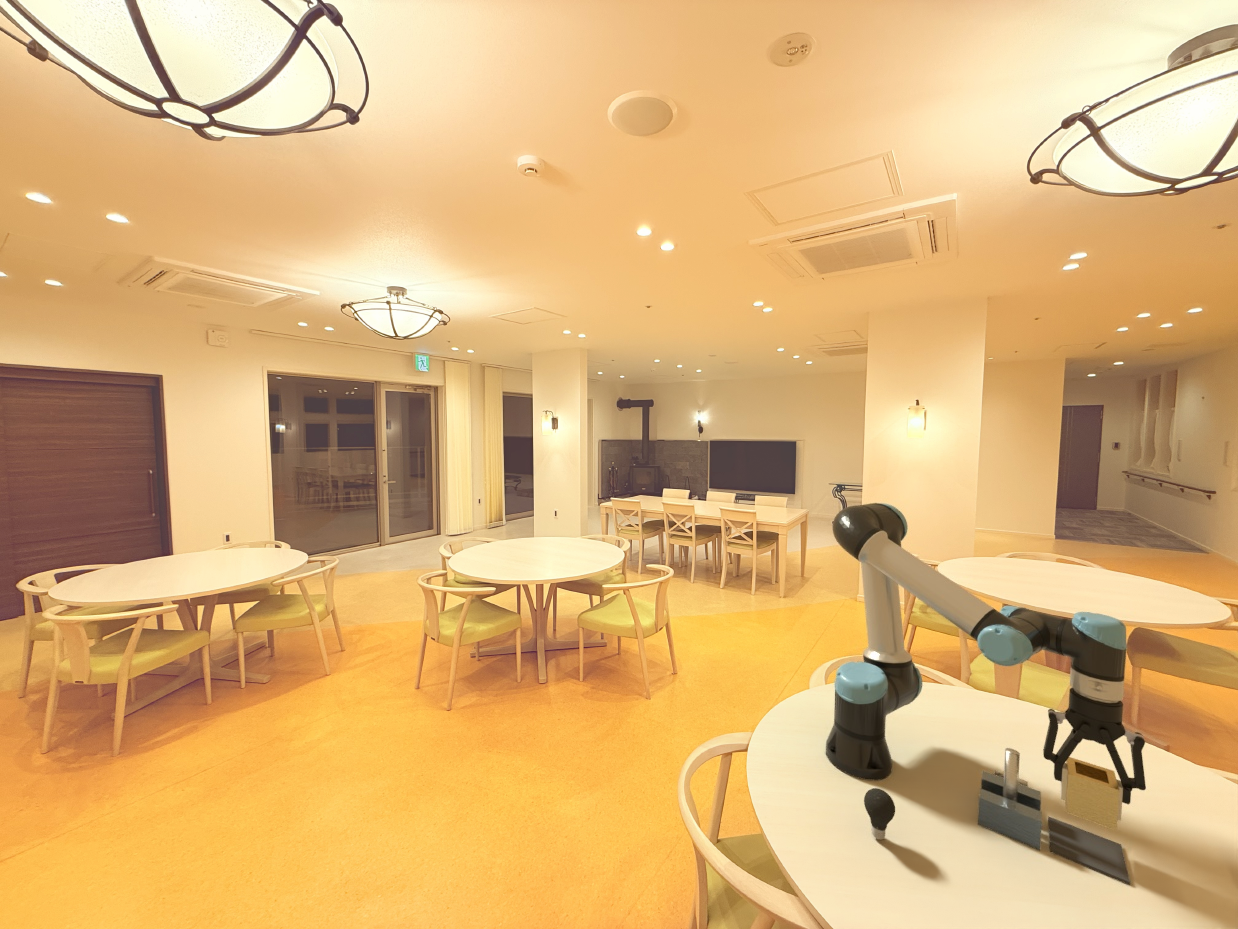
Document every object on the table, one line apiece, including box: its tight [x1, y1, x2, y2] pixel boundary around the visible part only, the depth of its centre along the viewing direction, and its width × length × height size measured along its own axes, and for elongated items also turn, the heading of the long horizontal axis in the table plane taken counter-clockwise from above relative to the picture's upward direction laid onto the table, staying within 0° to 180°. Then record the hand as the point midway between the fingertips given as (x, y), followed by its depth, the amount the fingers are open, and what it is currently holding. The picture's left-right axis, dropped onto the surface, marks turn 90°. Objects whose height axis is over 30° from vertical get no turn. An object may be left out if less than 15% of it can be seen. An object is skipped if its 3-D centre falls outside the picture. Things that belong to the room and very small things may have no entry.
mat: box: [1047, 816, 1131, 886], centre depth 96 cm, size 11×11×1 cm
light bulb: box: [863, 787, 896, 841], centre depth 98 cm, size 6×6×10 cm
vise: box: [977, 747, 1043, 852], centre depth 106 cm, size 10×18×16 cm, turn 140°
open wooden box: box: [1064, 756, 1119, 831], centre depth 96 cm, size 7×7×8 cm
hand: (1089, 806), depth 96 cm, fingers closed on open wooden box, 7 cm apart
